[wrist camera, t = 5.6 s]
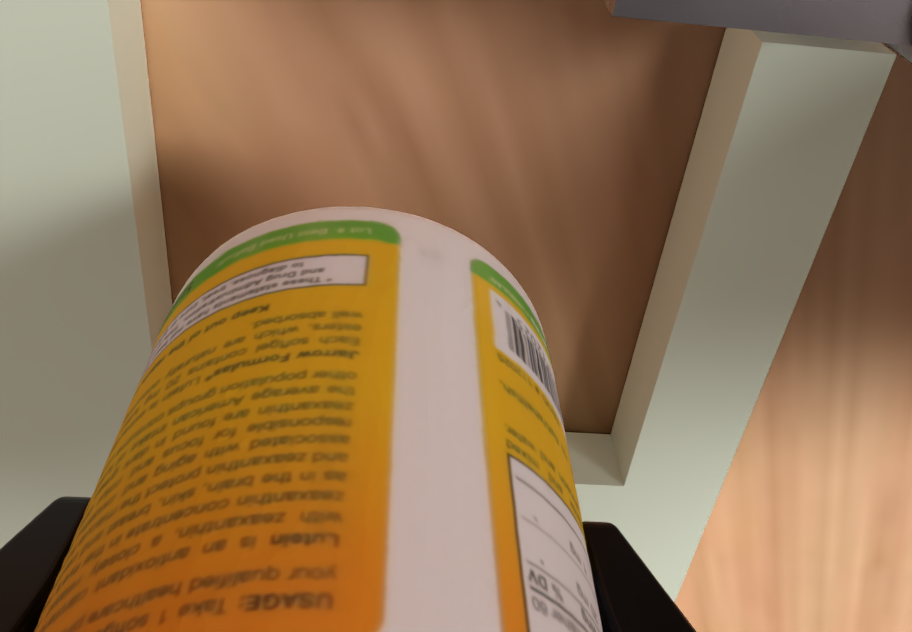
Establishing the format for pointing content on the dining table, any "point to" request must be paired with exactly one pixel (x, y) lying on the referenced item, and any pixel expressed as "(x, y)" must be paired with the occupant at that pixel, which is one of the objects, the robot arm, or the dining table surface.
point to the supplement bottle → (338, 448)
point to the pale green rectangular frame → (592, 455)
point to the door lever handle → (787, 17)
